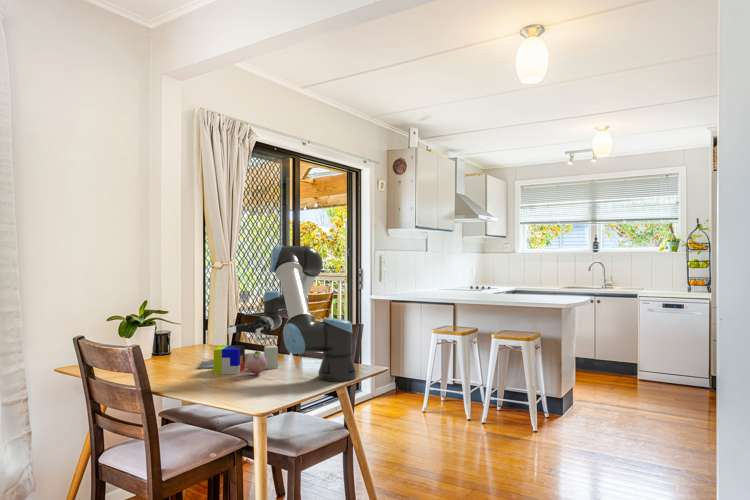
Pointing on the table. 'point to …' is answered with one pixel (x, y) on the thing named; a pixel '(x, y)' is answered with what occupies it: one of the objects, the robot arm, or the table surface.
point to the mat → (206, 365)
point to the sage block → (271, 356)
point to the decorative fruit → (256, 362)
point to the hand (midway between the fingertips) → (242, 332)
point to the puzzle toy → (229, 359)
